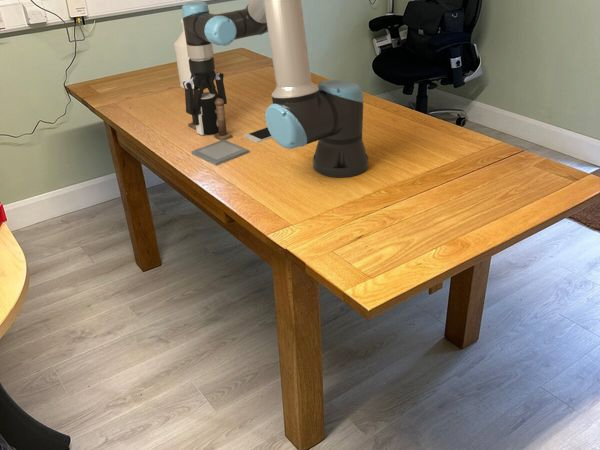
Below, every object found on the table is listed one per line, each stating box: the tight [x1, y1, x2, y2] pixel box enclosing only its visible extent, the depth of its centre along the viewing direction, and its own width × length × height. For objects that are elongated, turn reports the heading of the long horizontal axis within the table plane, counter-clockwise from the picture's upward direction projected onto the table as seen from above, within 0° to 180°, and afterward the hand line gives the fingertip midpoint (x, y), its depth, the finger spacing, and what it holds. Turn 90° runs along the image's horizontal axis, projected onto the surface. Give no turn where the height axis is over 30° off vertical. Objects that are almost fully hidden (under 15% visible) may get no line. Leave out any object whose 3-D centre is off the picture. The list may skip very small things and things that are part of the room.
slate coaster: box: [190, 139, 250, 166], centre depth 171 cm, size 12×12×1 cm
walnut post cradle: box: [187, 88, 233, 141], centre depth 183 cm, size 18×4×13 cm, turn 44°
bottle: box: [173, 17, 194, 89], centre depth 223 cm, size 12×12×25 cm
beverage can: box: [199, 91, 219, 136], centre depth 183 cm, size 7×7×12 cm
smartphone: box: [242, 126, 273, 144], centre depth 184 cm, size 7×16×1 cm, turn 131°
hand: (209, 130), depth 186 cm, fingers closed on beverage can, 7 cm apart
